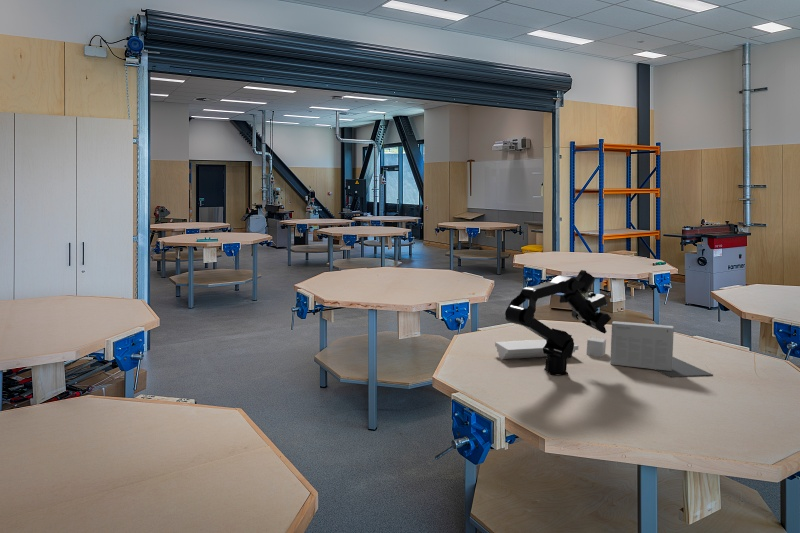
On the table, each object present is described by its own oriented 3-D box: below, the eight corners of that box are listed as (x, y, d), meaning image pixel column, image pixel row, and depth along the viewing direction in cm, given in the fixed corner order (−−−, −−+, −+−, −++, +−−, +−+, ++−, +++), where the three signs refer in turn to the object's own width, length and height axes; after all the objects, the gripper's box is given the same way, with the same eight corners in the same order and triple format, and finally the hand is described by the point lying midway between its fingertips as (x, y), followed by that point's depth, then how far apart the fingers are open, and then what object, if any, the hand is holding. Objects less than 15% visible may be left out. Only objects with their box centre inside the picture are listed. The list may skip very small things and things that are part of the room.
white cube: (586, 354, 226) (587, 339, 226) (589, 351, 231) (590, 336, 231) (602, 357, 223) (602, 342, 222) (605, 353, 228) (606, 339, 228)
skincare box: (671, 367, 209) (674, 325, 207) (671, 371, 204) (674, 328, 202) (611, 360, 218) (612, 320, 216) (609, 364, 213) (611, 323, 211)
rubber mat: (668, 355, 227) (668, 354, 227) (713, 375, 203) (713, 374, 202) (629, 356, 224) (629, 355, 224) (670, 377, 200) (670, 376, 199)
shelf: (494, 354, 223) (495, 342, 223) (561, 351, 231) (562, 338, 231) (507, 363, 212) (508, 349, 212) (577, 359, 220) (578, 345, 220)
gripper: (607, 291, 194) (634, 322, 198) (581, 282, 213) (606, 311, 216) (585, 314, 194) (612, 344, 197) (560, 303, 212) (585, 331, 216)
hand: (604, 332), depth 207 cm, fingers closed
